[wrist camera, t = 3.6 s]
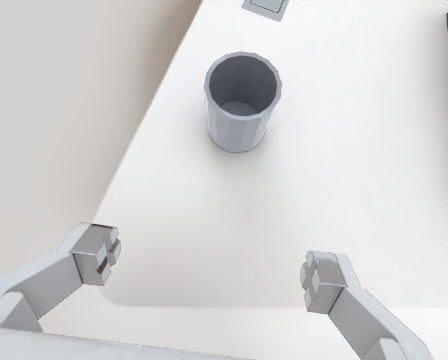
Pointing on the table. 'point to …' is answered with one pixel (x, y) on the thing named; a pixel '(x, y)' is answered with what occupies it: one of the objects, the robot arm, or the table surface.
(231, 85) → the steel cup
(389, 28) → the table surface
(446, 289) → the table surface
